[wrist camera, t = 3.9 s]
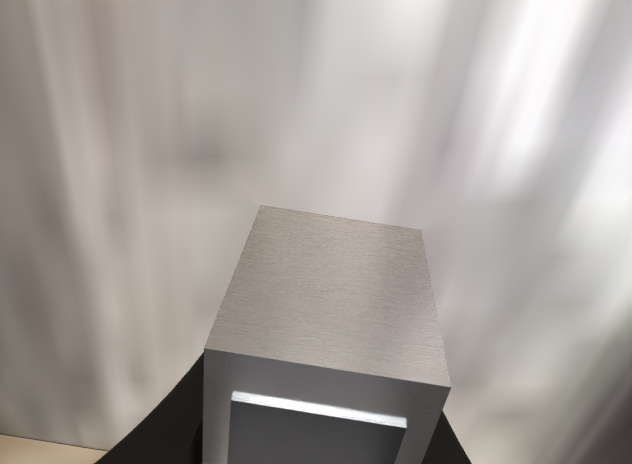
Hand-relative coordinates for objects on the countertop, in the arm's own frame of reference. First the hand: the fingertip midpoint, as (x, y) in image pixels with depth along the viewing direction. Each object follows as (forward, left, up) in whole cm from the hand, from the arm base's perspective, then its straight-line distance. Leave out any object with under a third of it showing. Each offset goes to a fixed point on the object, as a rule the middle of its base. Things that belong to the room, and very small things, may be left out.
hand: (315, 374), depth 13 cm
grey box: (0, 0, -1) cm, 1 cm away
